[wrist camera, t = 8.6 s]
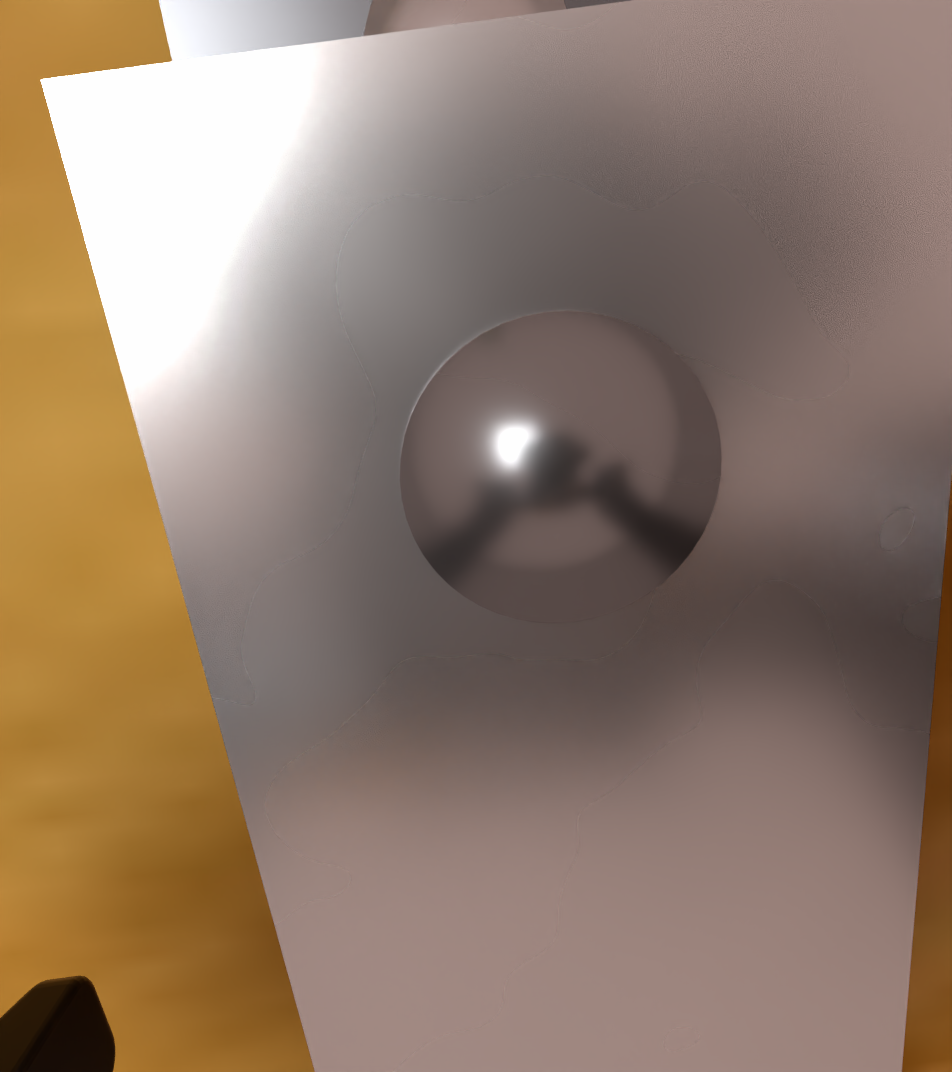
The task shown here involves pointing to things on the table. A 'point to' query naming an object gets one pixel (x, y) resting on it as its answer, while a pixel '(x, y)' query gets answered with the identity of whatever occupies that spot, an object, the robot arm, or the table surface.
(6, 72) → the table surface
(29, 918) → the table surface
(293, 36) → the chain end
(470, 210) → the master link
